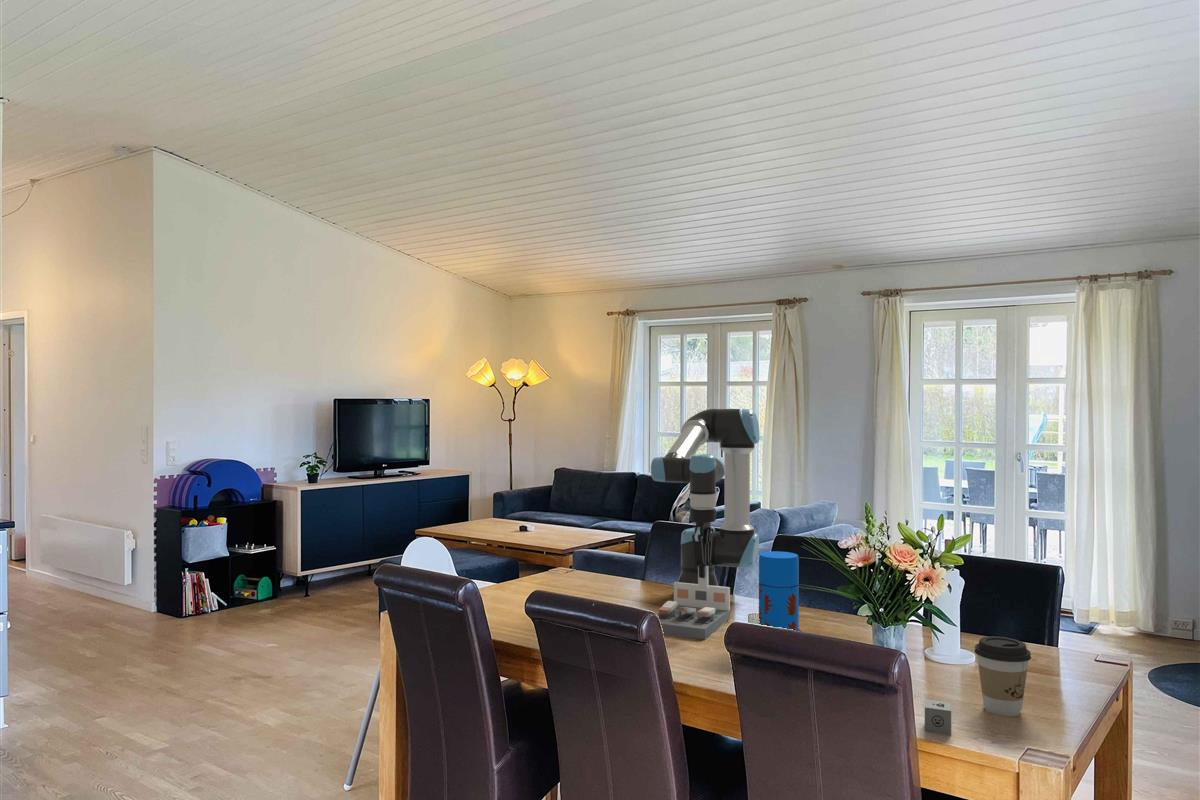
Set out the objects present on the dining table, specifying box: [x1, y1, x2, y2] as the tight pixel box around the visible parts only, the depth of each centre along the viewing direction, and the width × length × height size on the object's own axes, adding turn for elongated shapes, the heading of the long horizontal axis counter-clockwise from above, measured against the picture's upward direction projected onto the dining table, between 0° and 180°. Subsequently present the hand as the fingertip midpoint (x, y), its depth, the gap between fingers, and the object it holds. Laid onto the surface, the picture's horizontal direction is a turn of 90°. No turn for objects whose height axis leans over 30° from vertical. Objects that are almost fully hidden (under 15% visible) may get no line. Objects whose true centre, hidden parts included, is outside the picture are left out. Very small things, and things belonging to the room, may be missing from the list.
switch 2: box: [678, 607, 696, 612], centre depth 252 cm, size 8×3×1 cm, turn 154°
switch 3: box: [697, 607, 715, 617], centre depth 250 cm, size 8×3×1 cm, turn 155°
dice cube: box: [924, 699, 952, 736], centre depth 175 cm, size 5×5×5 cm
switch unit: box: [657, 581, 731, 641], centre depth 254 cm, size 24×18×10 cm
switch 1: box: [658, 600, 677, 615], centre depth 255 cm, size 8×3×1 cm, turn 155°
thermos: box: [758, 550, 800, 631], centre depth 234 cm, size 11×11×25 cm
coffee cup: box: [973, 635, 1032, 718], centre depth 185 cm, size 11×11×15 cm
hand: (703, 588), depth 247 cm, fingers closed
